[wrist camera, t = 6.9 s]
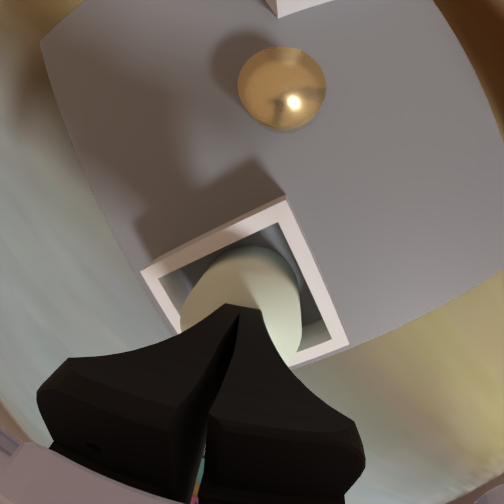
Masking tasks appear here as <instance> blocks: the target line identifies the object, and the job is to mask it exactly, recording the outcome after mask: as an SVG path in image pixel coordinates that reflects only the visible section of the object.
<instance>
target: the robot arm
mask: <svg viewBox="0 0 504 504" xmlns="http://www.w3.org/2000/svg"><path fill="white" fill-rule="evenodd" d="M36 400H37V404H38V408H39V411H40V413H41V416H42V418H43V420H44V422H45V424H46V426H47V428H48V431H49V433H50V435H51V437H52V439H53V441H54V442H53V443H52V444H51V446H50V447H49V449H48V448H46V447H43V446H41V445H39V444H37V443H32V442H27V443H24V442H22V441H21V440H19V439H18V438H17V437H15V436H14V435H12V434H11V433H10V432H8V431H7V430H5V429H4V428H3V427H1V426H0V504H190V503H191V499H192V495H193V491H194V487H195V483H196V479H197V475H198V471H199V467H200V464H201V460H202V456H203V452H204V448H205V444H206V448H205V461H204V472H203V476H202V479H201V483H200V486H199V490H198V494H197V497H198V504H345V498H344V495H345V493H346V492H347V491H348V490H349V489H350V488H351V486H352V485H353V484H354V483H355V482H356V481H357V479H358V478H359V477H360V476H361V474H362V472H363V470H364V469H365V454H364V449H363V445H362V441H361V438H360V435H359V433H358V430H357V427H356V425H355V422H354V421H353V420H351V419H349V418H348V417H346V416H345V415H343V414H341V413H340V412H338V411H337V410H335V409H333V408H332V407H330V406H329V405H327V404H326V403H325V402H323V401H322V400H321V399H320V398H318V397H317V396H316V395H315V394H313V393H312V392H311V391H310V390H309V389H308V388H307V387H306V386H305V385H304V384H303V383H302V382H301V381H300V380H299V379H298V378H297V377H296V376H295V375H294V374H293V373H292V371H291V370H290V369H289V367H288V366H287V365H286V363H285V362H284V360H283V359H282V357H281V356H280V354H279V352H278V351H277V349H276V347H275V345H274V343H273V342H272V339H271V337H270V335H269V333H268V330H267V328H266V325H265V322H264V319H263V314H262V312H261V310H260V309H255V308H249V307H243V306H238V305H233V304H227V303H225V304H223V305H221V306H220V307H219V308H218V309H216V310H215V311H214V312H212V313H211V314H210V315H208V316H207V317H205V318H204V319H203V320H201V321H200V322H198V323H197V324H195V325H194V326H192V327H190V328H188V329H187V330H185V331H183V332H182V333H180V334H178V335H176V336H173V337H171V338H169V339H166V340H164V341H162V342H159V343H156V344H153V345H150V346H147V347H143V348H140V349H137V350H133V351H128V352H124V353H119V354H112V355H106V356H96V357H79V358H68V359H67V360H66V361H65V362H64V363H63V364H62V365H61V366H60V367H59V368H58V369H57V370H56V371H55V372H54V373H53V374H52V375H51V376H50V377H49V378H48V379H47V380H46V381H45V382H44V383H43V384H42V385H41V386H40V388H39V389H38V391H37V398H36ZM474 504H504V484H502V485H499V486H497V487H495V488H493V489H491V490H489V491H488V492H486V493H485V494H484V495H482V496H481V497H480V498H479V499H478V500H477V501H476V502H475V503H474Z"/></svg>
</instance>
